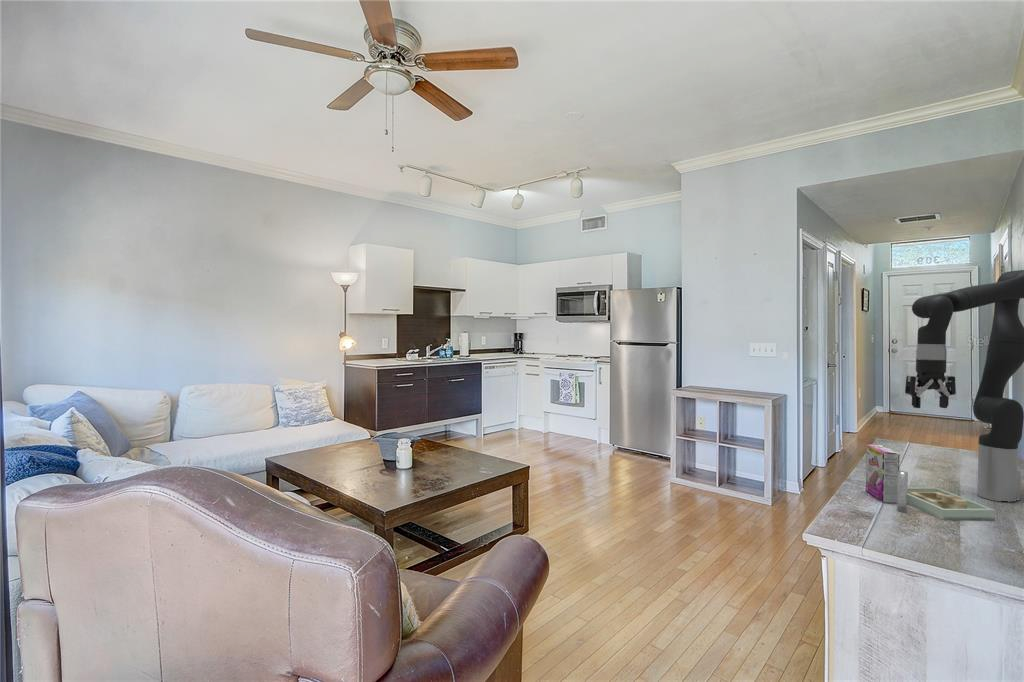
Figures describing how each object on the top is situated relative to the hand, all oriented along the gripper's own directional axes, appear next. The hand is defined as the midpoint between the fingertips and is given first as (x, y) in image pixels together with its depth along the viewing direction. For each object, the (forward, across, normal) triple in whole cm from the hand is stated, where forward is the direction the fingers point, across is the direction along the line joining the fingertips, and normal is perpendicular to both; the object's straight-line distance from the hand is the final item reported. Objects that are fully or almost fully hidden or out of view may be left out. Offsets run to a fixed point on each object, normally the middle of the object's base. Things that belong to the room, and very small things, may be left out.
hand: (929, 407), depth 159 cm
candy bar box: (+30, +14, -2) cm, 33 cm away
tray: (+30, +2, +7) cm, 31 cm away
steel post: (+30, +16, +10) cm, 36 cm away
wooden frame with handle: (+29, +2, +8) cm, 30 cm away
